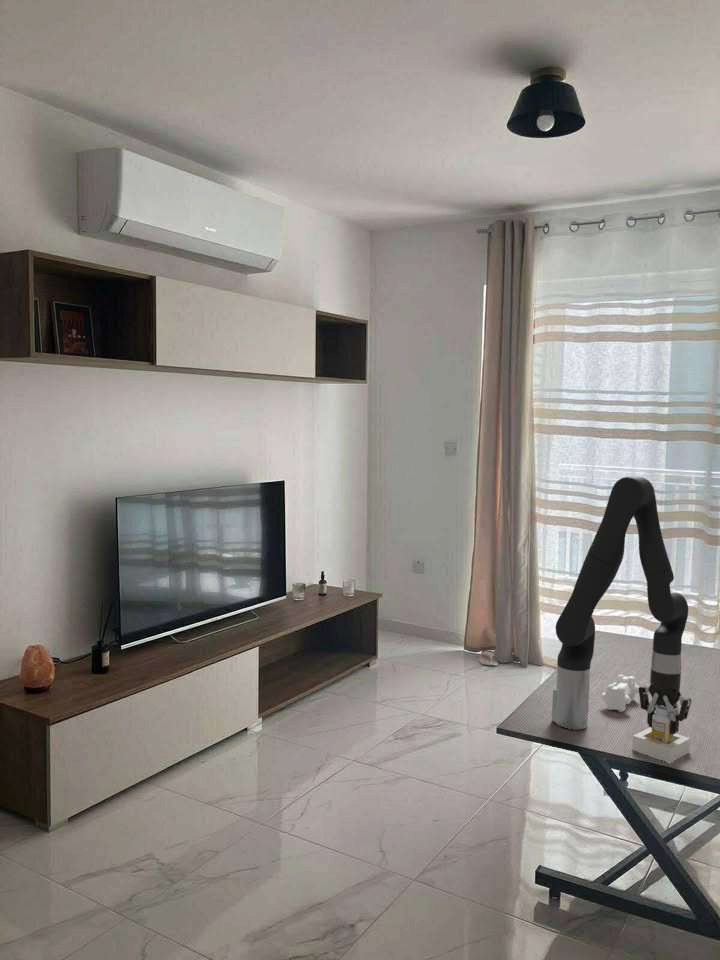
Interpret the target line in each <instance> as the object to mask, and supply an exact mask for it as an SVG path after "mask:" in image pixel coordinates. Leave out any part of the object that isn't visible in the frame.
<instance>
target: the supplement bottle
mask: <svg viewBox="0 0 720 960" xmlns="http://www.w3.org/2000/svg"><path fill="white" fill-rule="evenodd" d="M671 720H672V719H671V716H670V713H669V712H668V710H667V708H666V707H664V706H662V705H657V706H656V710H655V713H654V714H653V716H652V735H651V739H654V740H656V741H659V742H662V743H664V744H667V745H668V744H670V743H672V742H673V735H672V734H670V724H671Z"/></svg>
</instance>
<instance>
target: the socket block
mask: <svg viewBox="0 0 720 960" xmlns="http://www.w3.org/2000/svg"><path fill="white" fill-rule="evenodd" d="M651 735H652V728H651V727H648V728H646V729H644V730H642V731H640V732H638V733H636V734H634V735H632V749H631V750H632V751H633V752H636V751H637V753H638V754H639V753H640V754H642V755H645V756H647V755H648V756H647V757H650V758H653V759H657V760H658V759H659V761H661V760H663V761H662V762H664V761H667V762H672V761H674V760H675V759H678V758H679V759H681V758H683V757H685V756H686V754H687V753H688V754H690V752H691V751H690V750H691V749H690V748H691V738H690V737H687V736H684V735H682V734H679V733H676V734H674V735H673V742H672V743H670V744H668V745H667V744H664V743H662V742H659V741H656V740H654V739H651ZM688 754H687V755H688ZM684 755H685V756H684ZM682 756H683V757H682ZM680 757H681V758H680ZM679 759H678V760H679ZM667 762H666V763H667ZM674 762H675V761H674ZM672 763H673V762H672Z"/></svg>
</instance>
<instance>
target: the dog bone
mask: <svg viewBox="0 0 720 960" xmlns="http://www.w3.org/2000/svg"><path fill="white" fill-rule="evenodd" d="M639 687H640V686H639V684H637V683H636V677H635V676H633V675H630V676H625V675H624V674H621V673H620V674H618V676H617V678H616V682H615V681H614V682H612V683H610V684H609V683H608V685H607V686H606V692H605V691H604V692H602V693H601V696H600V697H601V700H602V701H604V703H605V704H606V709H607V710H609V711H613V710H614V711H615V710H616V711H618V712H619V713H623V712H624V711H625V710H626V705H629V704H631V702H633V701H634V700H635V699H636V694H639Z"/></svg>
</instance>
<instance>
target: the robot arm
mask: <svg viewBox="0 0 720 960" xmlns="http://www.w3.org/2000/svg"><path fill="white" fill-rule="evenodd" d="M633 518H634V520H635V523H636V528H637V533H638V536H637V537H638V555H639V559H640V564H641V568H642V570H643V573H644V576H645V579H646V580H645V581H646V591H647V593H646V594H647V603H648V608H649V611H650V613H651V615H652V616H653V618H654V619H655V620H656V621H658V622H660V625H659V627H658V628H656V630H654V633H653V639H652V653H651V659H650V676H649V683H650V685H649V686H647V685H642V686H639V693H638V695H639V702H640V703H639V704H640V708H641V710H644V711H645V712H647V717H646V719H647V721H646V722H647V725H648V728H650V727H651V728H652V716H653V714H654V713H656V711H655V710H656V706H657V705H662V706H664V707H666V708H667V710H668V712H669V713H670V716H671V719H672V720H671V724H670V734H672V735H674V734H677V733H678V732H679V727H680V722H683V721H685V720H686V719H687V718H688V715H689V712H690V708H691V704H692V699H691V698H690V697H687V698H686V697H684V696H682V694H681V692H680V689H681V678H682V677H681V676H682V669H683V667H682V646H683V645H682V643H683V642H682V639H683V634H684V632H685V628H686V626H687V625H686V624H687V621H688V616H689V606H688V605H689V604H688V602H687V599H686V598H685V597H684V596H683V595H682V594H681V593H678V592H672V591H671V584H672V582H673V581H674V579H675V575H674V572H673V569H672V565H671V562H670V558H669V555H668V552H667V549H666V546H665V542H664V539H663V534H662V530H661V525H660V519H659V512H658V506H657V499H656V492H655V488H654V486H653V483H651V481H650V480H649V479H648V478H646V477H643V476H623V477H621V478H619V479H618V480H617V481H615V483H614V484H613V486H612V488H611V491H610V494H609V498H608V501H607V505H606V508H605V510H604V514H603V517H602V519H601V523H600V524H599V527H598V528H597V531H596V533H595V535H594V538H593V540H592V542H591V545H590V547H589V549H588V551H587V553H586V556H585V557H584V561H583V563H582V566H581V569H580V571H579V573H578V576H577V578H576V581H575V584H574V587H573V589H572V593H571V595H570V597H569V600H568V601H567V603H566V605H565V606H564V608H563V610H562V612H561V613H560V615H559V617H558V619H557V621H556V623H555V635H556V637H557V639H558V641H560V643H562V644H561V647H560V651H559V653H558V654H557V661H556V662H557V663H556V666H557V667H556V683H555V685H556V686H555V688H554V689H553V691H552V707H551V722H552V721H554V722H555V723H556V724H557V725H556V724H555V723H554V722H553V723H554V724H555V725H556V726H558V725H559V726H558V727H560V726H561V727H560V728H562V727H564V728H563V729H565V728H568V729H567V730H571V729H573V730H574V731H578V730H579V731H581V730H585V729H586V728H587V727H588V720H589V719H588V717H589V715H588V714H589V706H590V705H589V701H590V700H589V699H590V686H591V685H590V683H591V682H590V681H591V680H590V679H591V664H592V661H593V660H592V659H593V656H594V651H595V639H596V624H595V620H594V618H593V614H594V611H595V609H596V607H597V605H598V603H599V602H600V601H601V599H602V598H603V596H604V595H605V593H606V592H607V590H608V589H609V588H610V586H611V584H612V583H613V582H614V580H615V579H616V575H617V574H618V571H619V569H620V566H621V564H622V562H623V558H624V555H625V544H626V534H627V530H628V528H629V526H630V524H631V521H632V519H633ZM649 694H650V696H651V700H649ZM678 702H679V704H680V709H679V706H678Z"/></svg>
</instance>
